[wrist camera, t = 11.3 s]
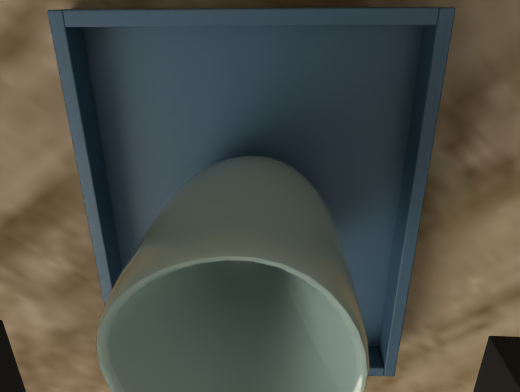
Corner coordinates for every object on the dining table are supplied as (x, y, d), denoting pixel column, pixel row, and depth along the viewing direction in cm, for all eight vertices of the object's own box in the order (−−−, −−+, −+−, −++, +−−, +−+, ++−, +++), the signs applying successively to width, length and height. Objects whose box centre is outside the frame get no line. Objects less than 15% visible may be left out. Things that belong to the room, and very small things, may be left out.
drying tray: (437, 6, 17) (456, 7, 16) (386, 349, 25) (394, 377, 23) (70, 9, 18) (46, 10, 16) (127, 342, 26) (116, 368, 24)
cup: (354, 247, 22) (407, 425, 13) (217, 295, 23) (177, 483, 14) (296, 107, 19) (310, 206, 10) (144, 172, 21) (37, 309, 11)
